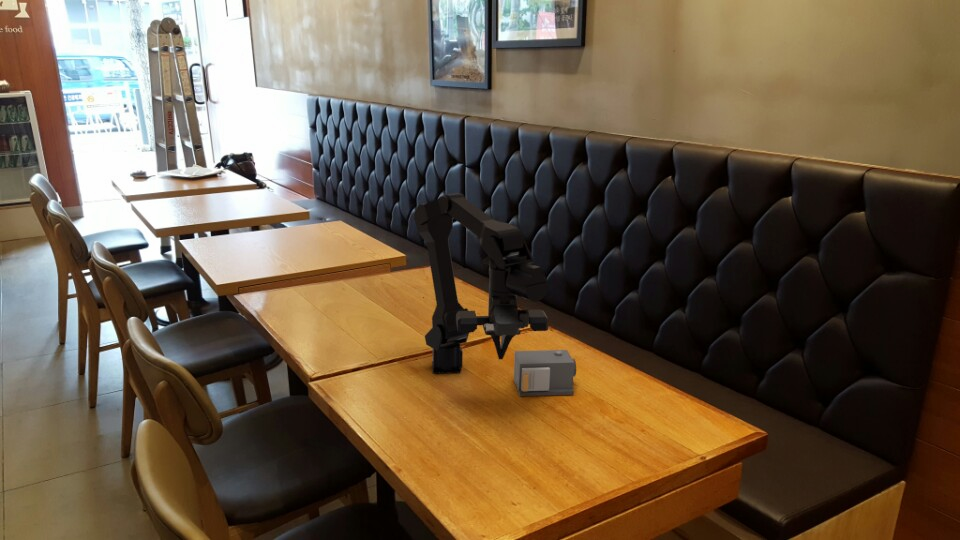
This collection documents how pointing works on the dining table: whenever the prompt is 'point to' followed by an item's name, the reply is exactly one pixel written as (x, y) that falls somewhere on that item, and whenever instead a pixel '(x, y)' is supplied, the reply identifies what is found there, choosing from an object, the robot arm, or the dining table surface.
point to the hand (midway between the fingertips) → (500, 358)
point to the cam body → (559, 370)
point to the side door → (535, 379)
